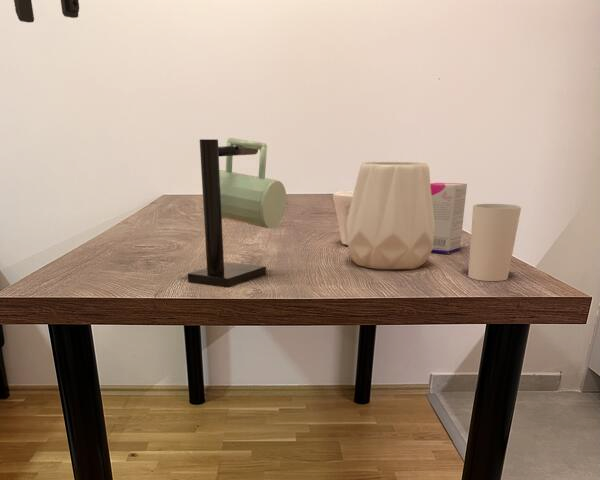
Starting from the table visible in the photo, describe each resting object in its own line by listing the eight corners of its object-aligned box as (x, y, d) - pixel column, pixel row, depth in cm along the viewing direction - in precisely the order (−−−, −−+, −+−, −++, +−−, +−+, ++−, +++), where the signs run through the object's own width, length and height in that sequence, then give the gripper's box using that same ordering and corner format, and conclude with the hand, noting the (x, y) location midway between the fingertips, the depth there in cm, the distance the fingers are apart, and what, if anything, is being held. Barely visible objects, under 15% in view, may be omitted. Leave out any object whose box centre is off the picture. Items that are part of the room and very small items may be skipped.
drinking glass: (467, 280, 92) (475, 208, 88) (463, 271, 98) (470, 203, 94) (514, 282, 91) (525, 209, 87) (507, 273, 97) (517, 204, 93)
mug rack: (228, 287, 88) (222, 139, 80) (188, 282, 91) (177, 139, 83) (278, 270, 99) (276, 138, 91) (240, 266, 102) (235, 138, 94)
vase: (326, 262, 104) (329, 162, 98) (384, 253, 113) (390, 160, 106) (392, 276, 95) (399, 166, 88) (449, 264, 103) (460, 163, 97)
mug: (261, 231, 88) (202, 218, 92) (284, 225, 93) (227, 214, 97) (267, 146, 83) (204, 136, 87) (291, 145, 88) (231, 135, 92)
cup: (359, 251, 114) (362, 196, 110) (321, 244, 121) (321, 192, 117) (395, 245, 120) (399, 193, 116) (356, 239, 127) (358, 189, 123)
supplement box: (460, 250, 116) (468, 182, 111) (448, 254, 111) (455, 184, 106) (431, 247, 119) (437, 181, 114) (418, 251, 114) (423, 183, 109)
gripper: (90, -134, 80) (106, 19, 87) (12, -116, 86) (33, 26, 93) (42, -155, 74) (64, 11, 81) (-38, -134, 80) (-11, 19, 87)
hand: (48, 19), depth 87 cm, fingers open, 8 cm apart
